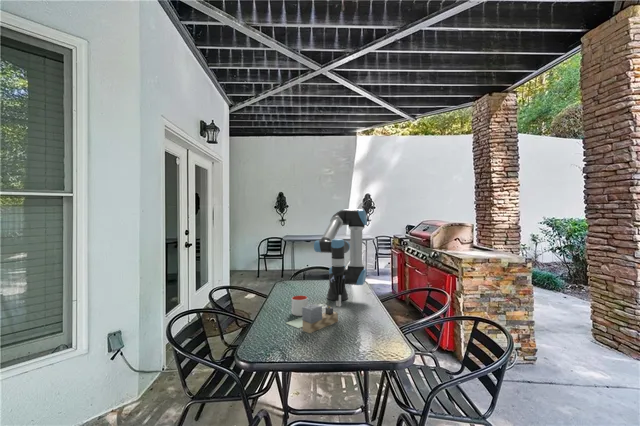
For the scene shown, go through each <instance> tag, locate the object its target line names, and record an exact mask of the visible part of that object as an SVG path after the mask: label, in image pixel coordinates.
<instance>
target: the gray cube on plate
mask: <svg viewBox="0 0 640 426" xmlns="http://www.w3.org/2000/svg"><path fill="white" fill-rule="evenodd" d="M322 314H323V306H321V305H319V304H314V303H311V304H308V305H307V306H304V307H302V316H301V317H302V320H303V321H305V322H308V323H311V324H312V323H315V322H317V321H320V320H322Z"/></svg>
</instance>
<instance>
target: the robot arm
mask: <svg viewBox="0 0 640 426" xmlns="http://www.w3.org/2000/svg"><path fill="white" fill-rule="evenodd" d="M367 224H368V216H367V212H366V210H365V209H361V208H354V209H353V208H348V209H346V208H345V209H340V210H339V211H337V212H335V213H334V214H333V215H332V217H331V218H330V221H329V225H328V226H327V228H326V230H325V232H324V233H323V235H322V237H321V238H320V240H318V239H317V240H315V241H314V243H313V250H314V251H315V252H316V253H321V254H322V253H327V254H329V253H330V254H331V267H329V269H328V275H329V276H328V278H329V279H328V285H329V287H328V291H327V293H326V299H328V300H329V301H335V306H336V307H341V306H342V301H346V300H348V298H349V295H348V291H347V288H346V285H352V286H353V285H354V286H363V285H364V284H365V282H366V279H367V273H368V272H367V268H365V265H364V264H363V230H364V229H366V228H365V226H367ZM343 226H348V229H349V230H350V234H349V235H350V236H349V239H350V240H349V241H350V242H348V240H344V239H343V238H336V236H337V234H338V232H339V230H340V229H341V228H342V227H343ZM348 252H349V264H348V265H347V267H346V265H345V263H346V262H345V254H346V253H348Z"/></svg>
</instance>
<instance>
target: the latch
mask: <svg viewBox="0 0 640 426" xmlns="http://www.w3.org/2000/svg"><path fill="white" fill-rule="evenodd" d="M324 311H325V313H327V314H332V313H333V312H334V307H332V306H330V305H329V306H327V307H325V310H324Z"/></svg>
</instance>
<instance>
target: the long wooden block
mask: <svg viewBox="0 0 640 426" xmlns="http://www.w3.org/2000/svg"><path fill="white" fill-rule="evenodd" d="M338 313H339V312H337V311H333V313H332V314H327V313H326V312H324V313H323V312H322V320H320V321H317V322H315V323H312V324H311V323H308V322H305V321H303V327H302V331H303V332H305V333H308V334H312V333H314V332H316V331H318V330H321V329H324V328H326V327H329V326H332V325H333V324H335V323H338V322H339V314H338Z"/></svg>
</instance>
